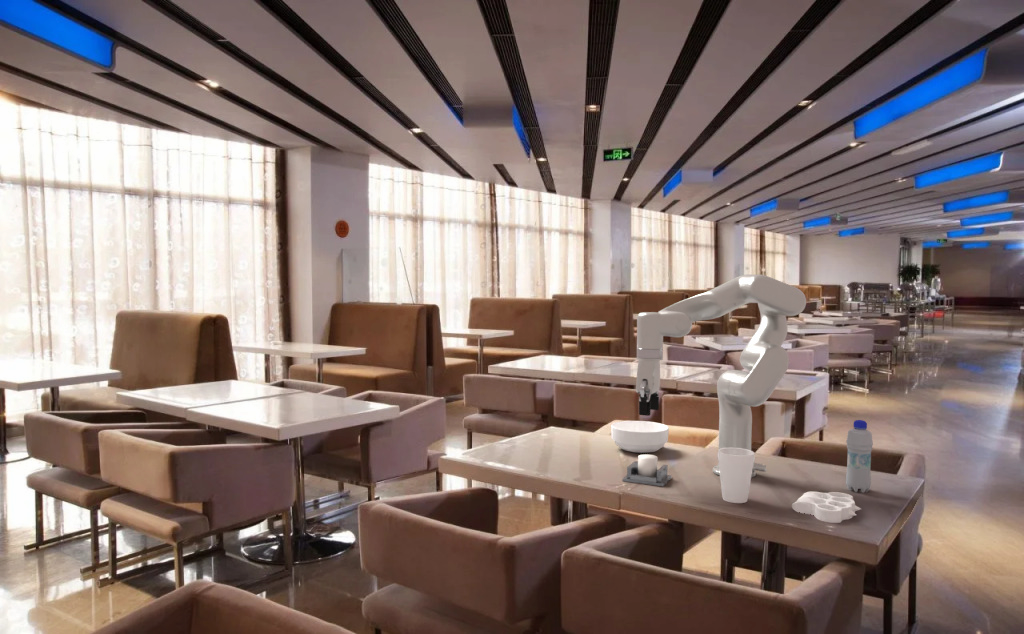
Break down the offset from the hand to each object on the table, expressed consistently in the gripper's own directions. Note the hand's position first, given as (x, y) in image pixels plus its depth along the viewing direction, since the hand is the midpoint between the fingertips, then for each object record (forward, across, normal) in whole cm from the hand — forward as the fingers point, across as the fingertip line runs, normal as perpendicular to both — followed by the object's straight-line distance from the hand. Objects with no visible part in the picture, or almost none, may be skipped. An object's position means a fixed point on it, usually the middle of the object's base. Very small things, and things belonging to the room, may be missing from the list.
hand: (649, 412), depth 206 cm
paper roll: (+19, 0, 0) cm, 19 cm away
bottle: (+21, -17, +56) cm, 62 cm away
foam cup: (+20, +8, +26) cm, 34 cm away
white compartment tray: (+21, +7, +49) cm, 53 cm away
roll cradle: (+20, 0, 0) cm, 20 cm away
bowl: (+20, -35, -12) cm, 42 cm away
